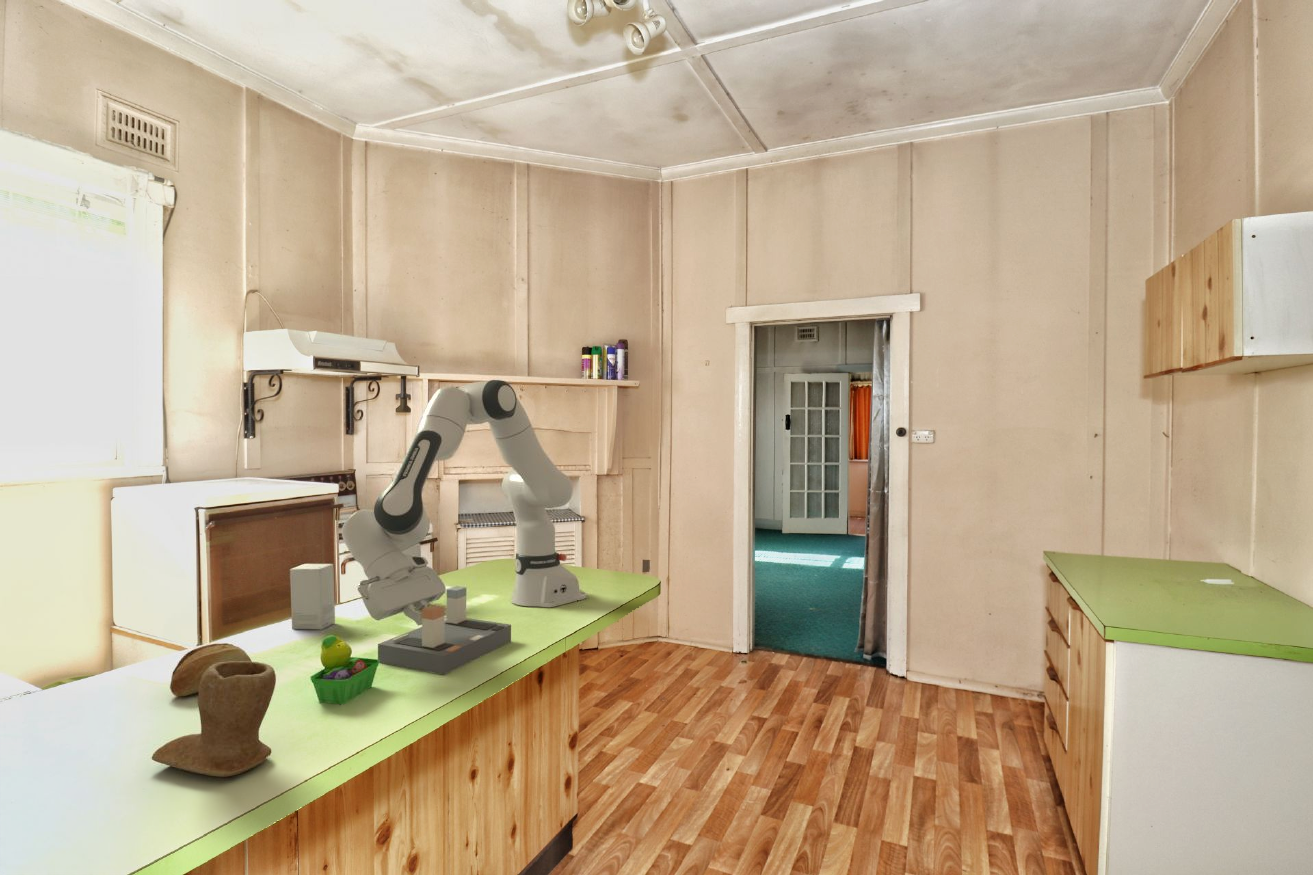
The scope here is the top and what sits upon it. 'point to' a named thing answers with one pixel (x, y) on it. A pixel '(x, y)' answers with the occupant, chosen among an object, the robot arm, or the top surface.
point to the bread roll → (202, 666)
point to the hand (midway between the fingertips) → (425, 622)
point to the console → (445, 646)
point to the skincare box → (312, 596)
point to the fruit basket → (342, 672)
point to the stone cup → (226, 721)
